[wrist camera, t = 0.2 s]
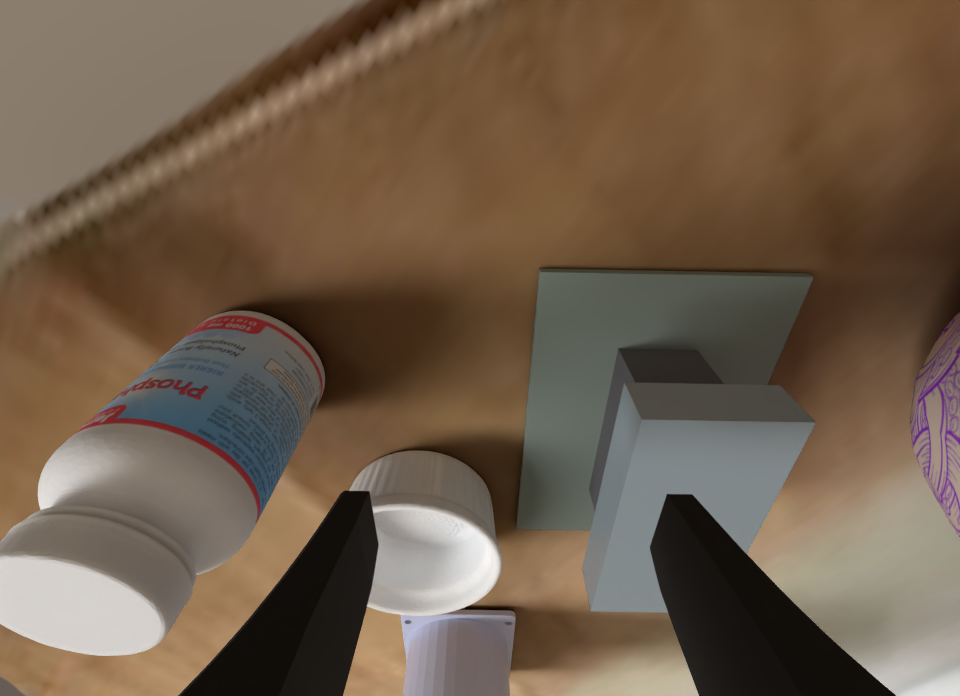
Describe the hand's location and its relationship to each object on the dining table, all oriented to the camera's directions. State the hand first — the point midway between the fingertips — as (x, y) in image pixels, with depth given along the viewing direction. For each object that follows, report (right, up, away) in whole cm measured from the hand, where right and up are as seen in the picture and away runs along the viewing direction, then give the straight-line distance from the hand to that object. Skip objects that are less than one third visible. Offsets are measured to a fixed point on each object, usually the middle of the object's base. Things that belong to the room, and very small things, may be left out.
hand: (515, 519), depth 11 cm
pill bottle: (-11, +4, +10) cm, 15 cm away
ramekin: (-4, -4, +15) cm, 16 cm away
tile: (+7, -2, +8) cm, 10 cm away
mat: (+7, +1, +11) cm, 13 cm away
